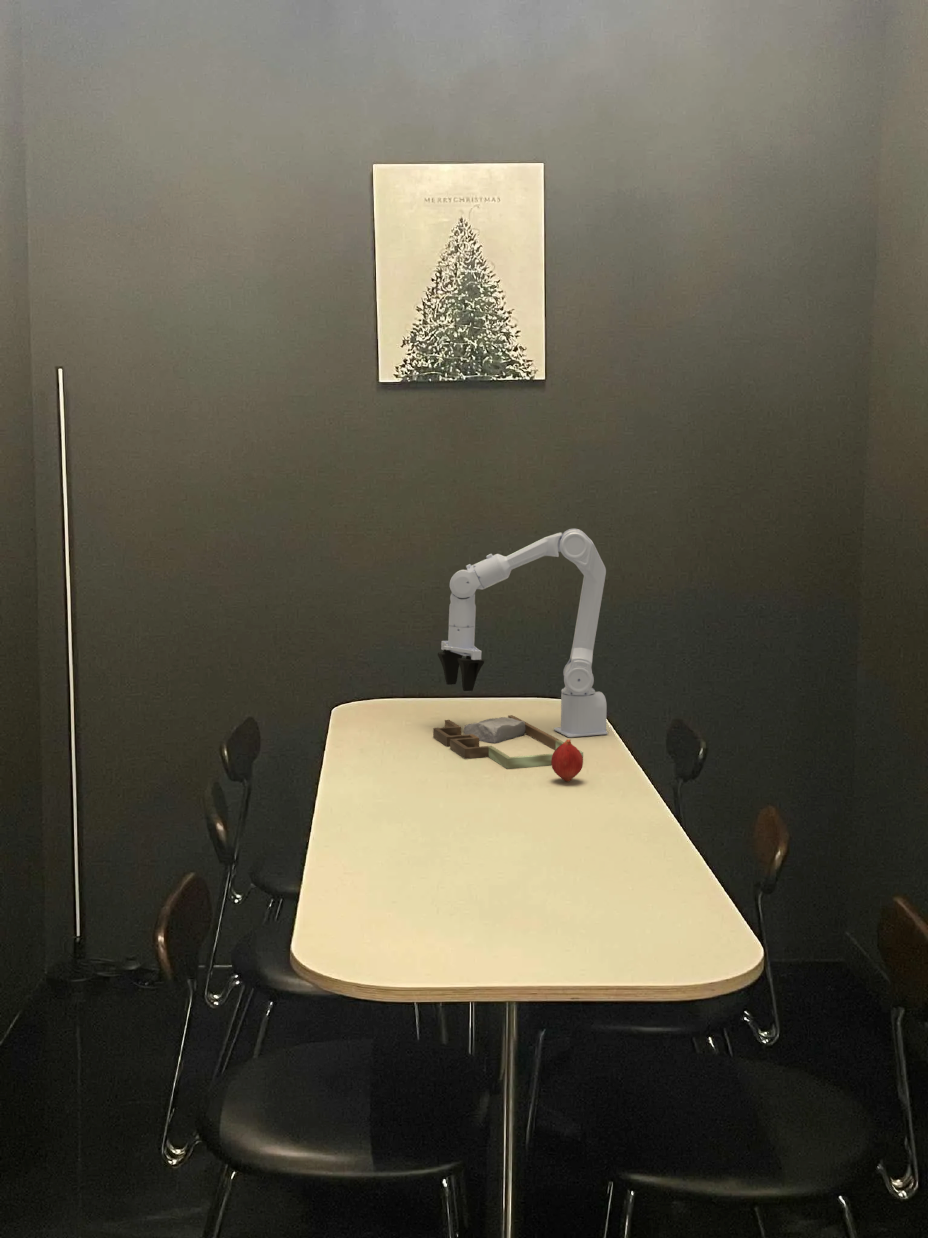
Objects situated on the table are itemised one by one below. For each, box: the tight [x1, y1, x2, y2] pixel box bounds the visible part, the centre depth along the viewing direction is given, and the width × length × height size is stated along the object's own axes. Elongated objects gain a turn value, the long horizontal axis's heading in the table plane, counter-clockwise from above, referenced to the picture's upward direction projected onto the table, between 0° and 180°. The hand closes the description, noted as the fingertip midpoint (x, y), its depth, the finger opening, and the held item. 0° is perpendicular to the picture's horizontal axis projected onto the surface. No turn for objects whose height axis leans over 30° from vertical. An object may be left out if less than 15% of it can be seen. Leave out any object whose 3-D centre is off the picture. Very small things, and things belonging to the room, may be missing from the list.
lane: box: [432, 714, 584, 770], centre depth 249 cm, size 21×37×2 cm, turn 20°
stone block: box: [463, 716, 526, 744], centre depth 258 cm, size 12×5×10 cm
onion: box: [551, 738, 584, 783], centre depth 221 cm, size 6×6×8 cm
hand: (459, 687), depth 262 cm, fingers open, 7 cm apart
